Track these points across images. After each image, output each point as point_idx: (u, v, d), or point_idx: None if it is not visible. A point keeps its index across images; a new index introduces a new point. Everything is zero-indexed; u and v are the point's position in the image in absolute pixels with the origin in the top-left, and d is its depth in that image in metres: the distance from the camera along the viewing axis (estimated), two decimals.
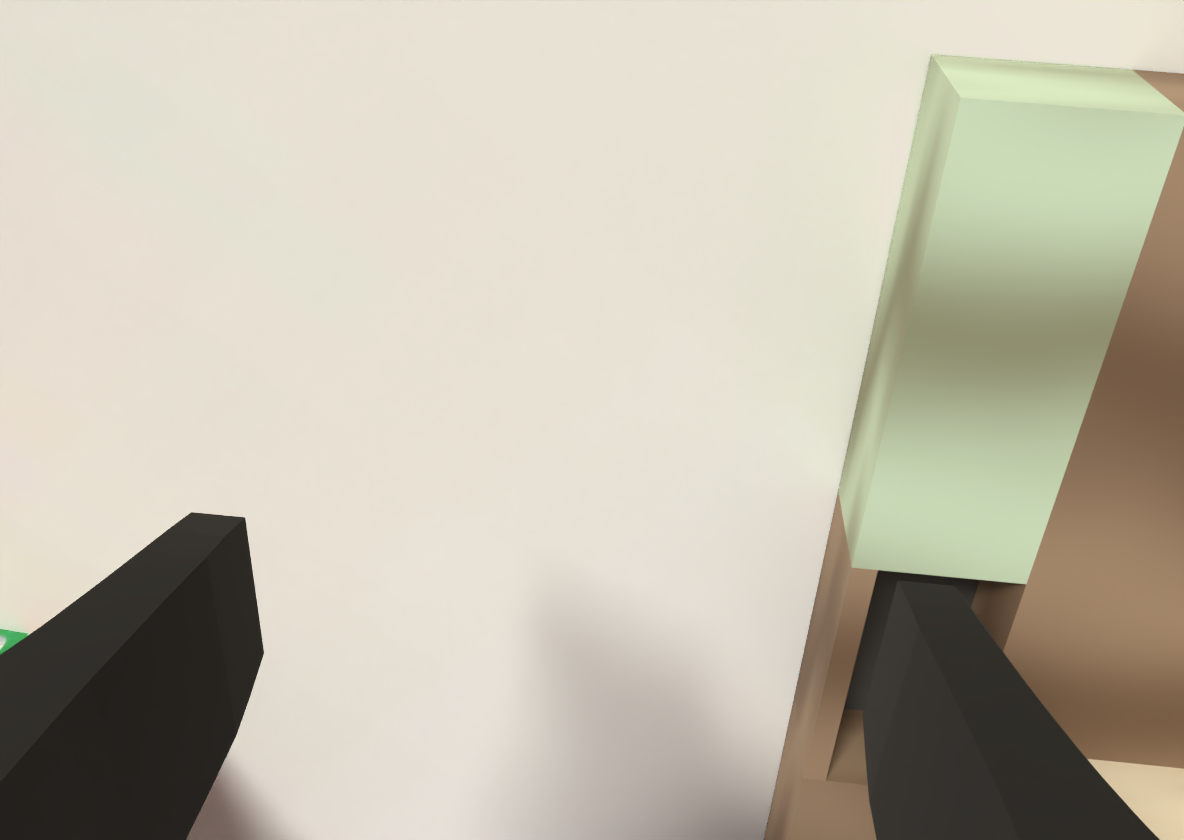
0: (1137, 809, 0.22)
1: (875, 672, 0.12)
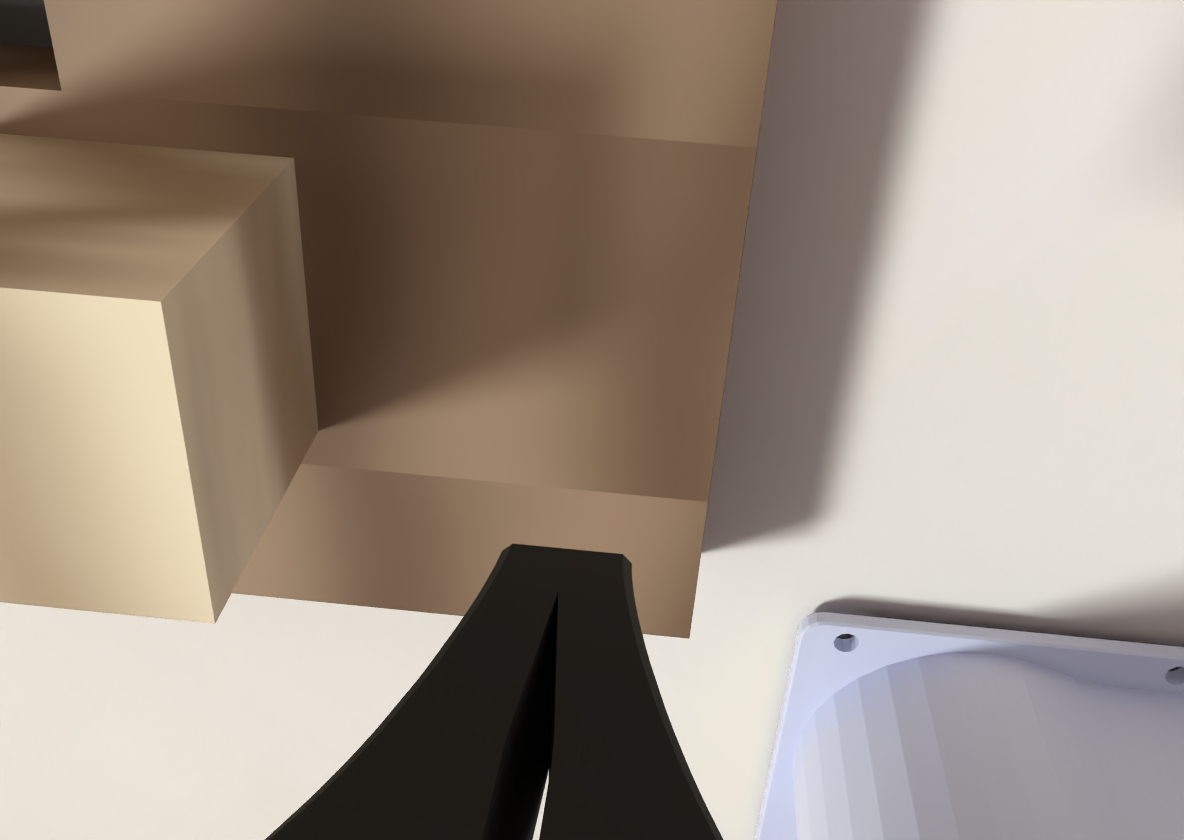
0: None
1: None
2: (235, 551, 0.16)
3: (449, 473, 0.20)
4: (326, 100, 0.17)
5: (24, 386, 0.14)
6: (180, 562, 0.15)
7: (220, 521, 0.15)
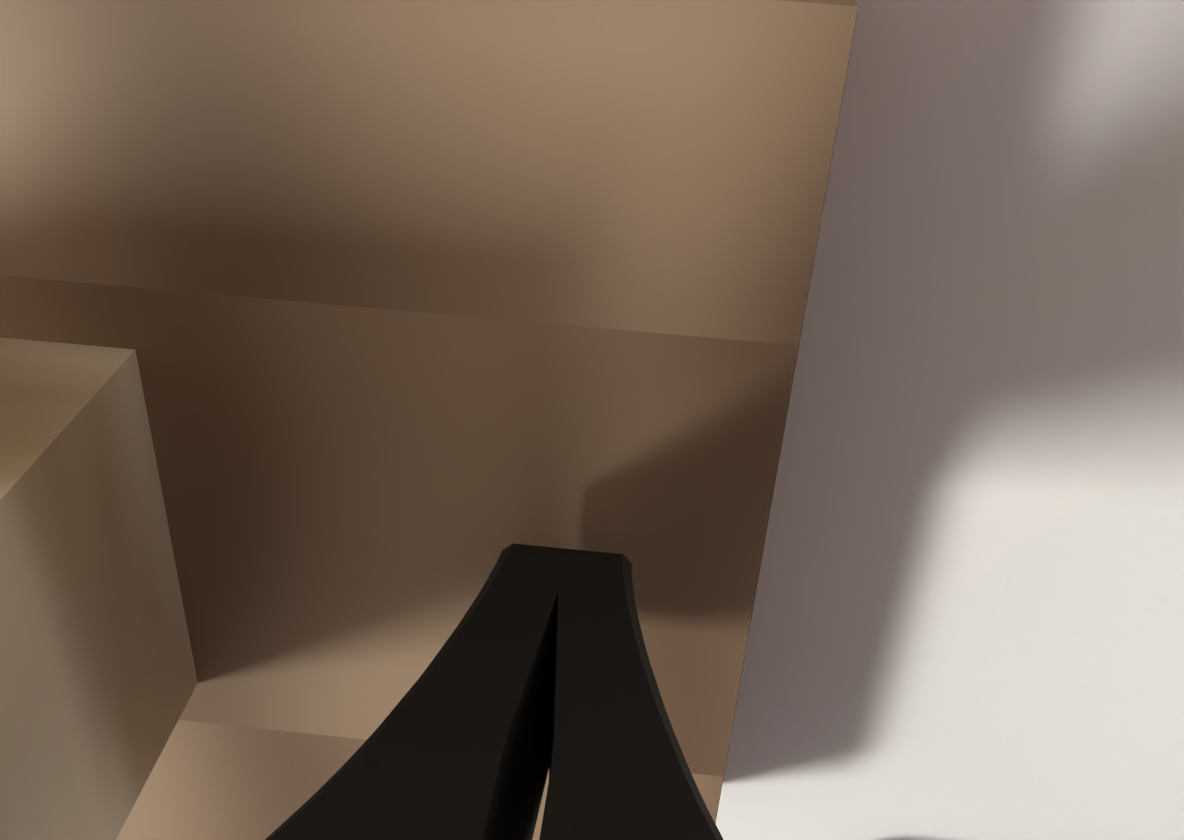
0: None
1: None
2: None
3: None
4: (175, 274, 0.11)
5: None
6: None
7: None
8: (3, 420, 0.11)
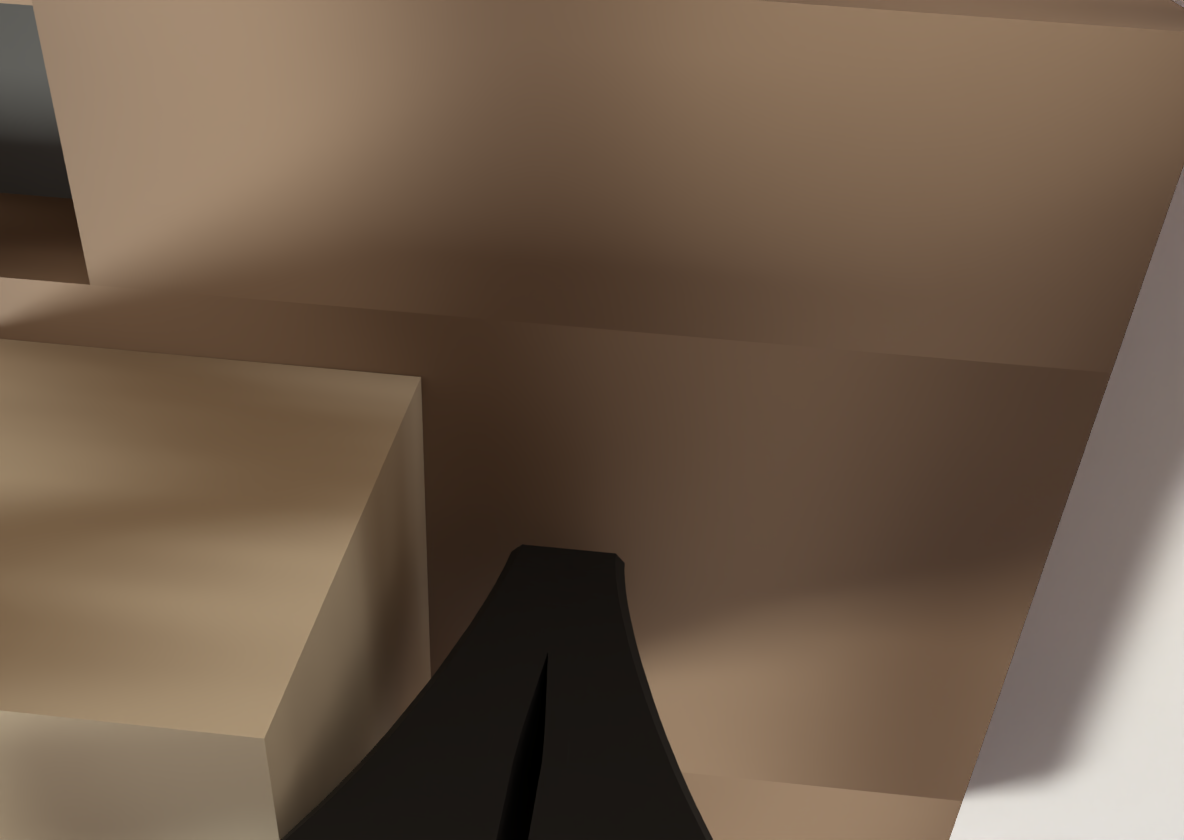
0: None
1: None
2: None
3: None
4: (477, 302, 0.11)
5: (35, 833, 0.08)
6: None
7: None
8: (322, 452, 0.11)
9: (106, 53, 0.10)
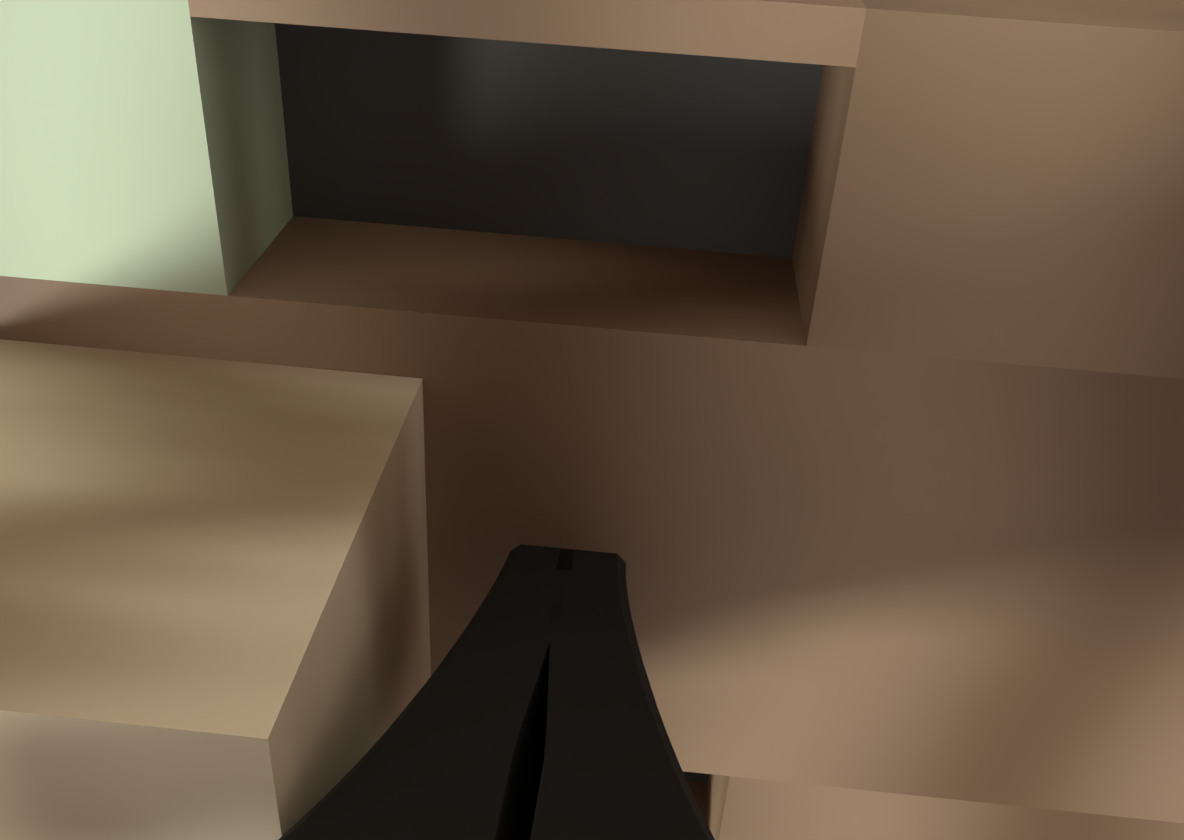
0: None
1: None
2: None
3: (1171, 814, 0.15)
4: None
5: (39, 833, 0.09)
6: None
7: None
8: (324, 453, 0.11)
9: (917, 115, 0.10)
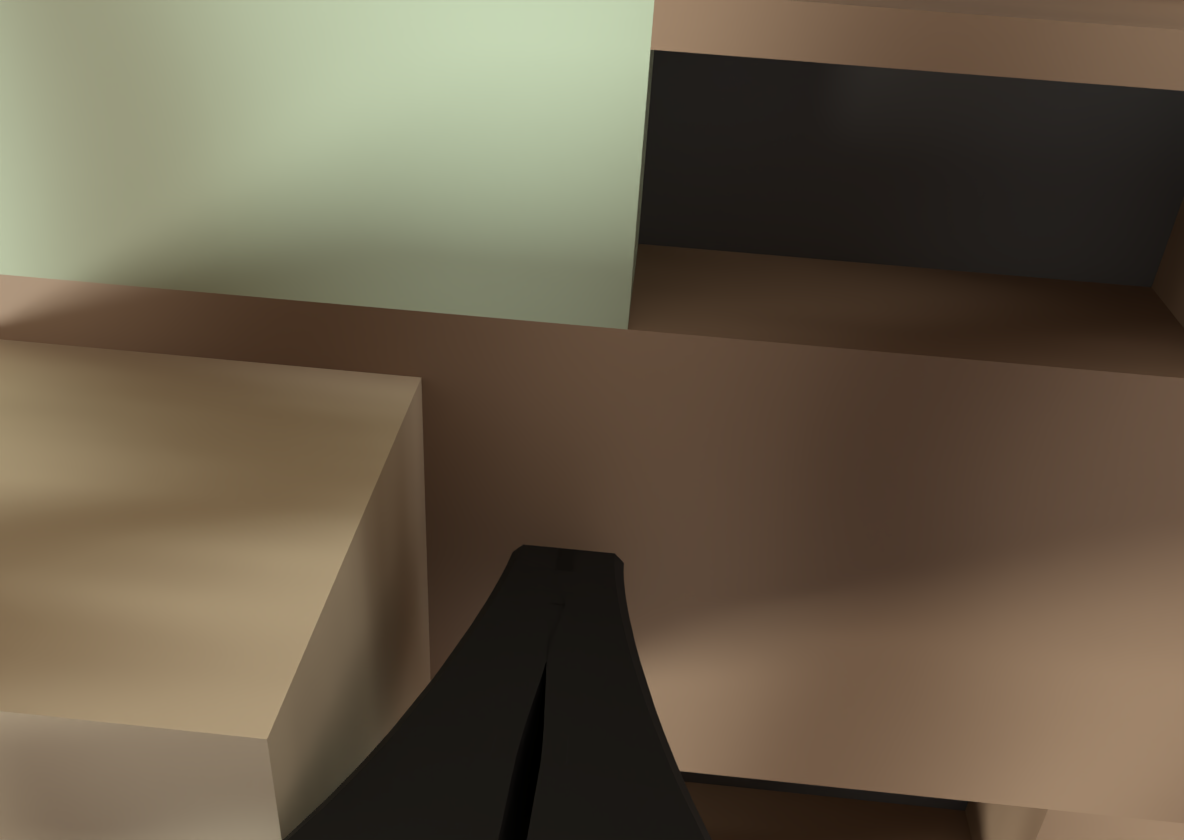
0: None
1: None
2: None
3: None
4: None
5: (36, 834, 0.08)
6: None
7: None
8: (323, 452, 0.11)
9: None
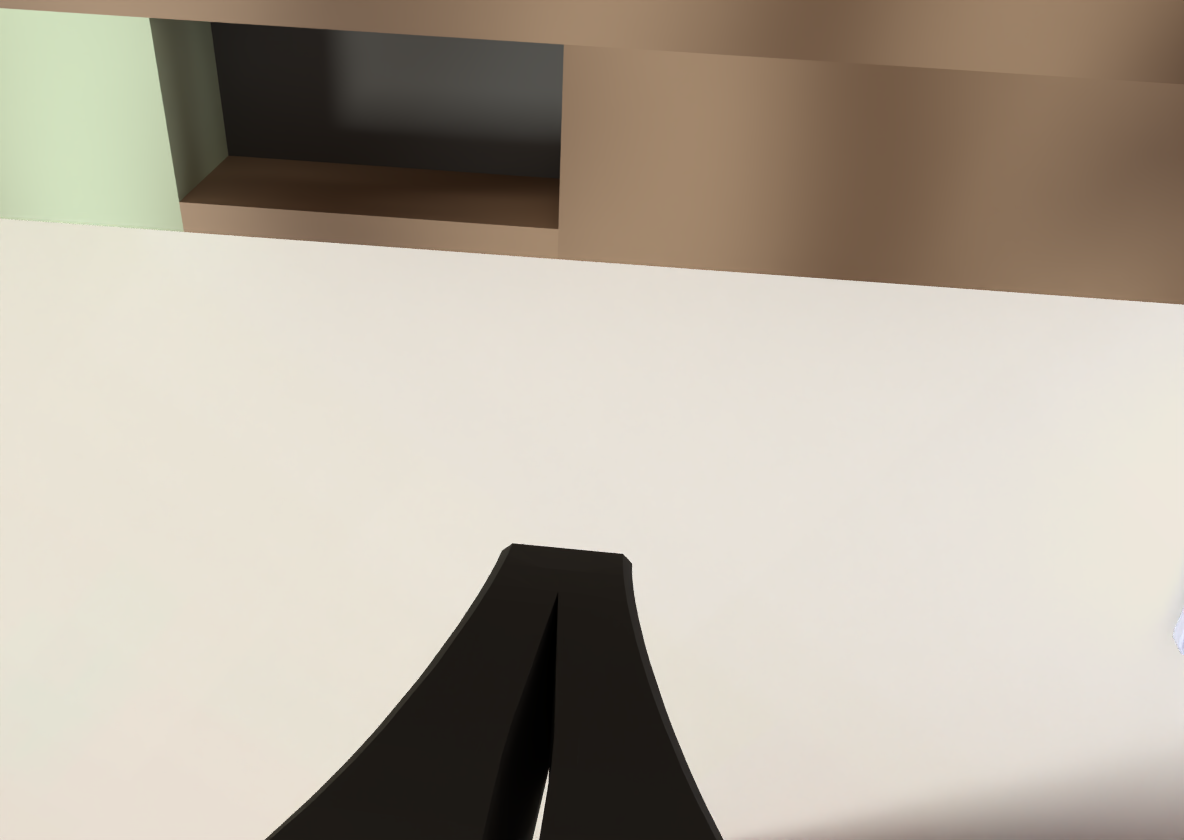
0: None
1: None
2: None
3: (976, 68, 0.16)
4: None
5: None
6: None
7: None
8: None
9: None
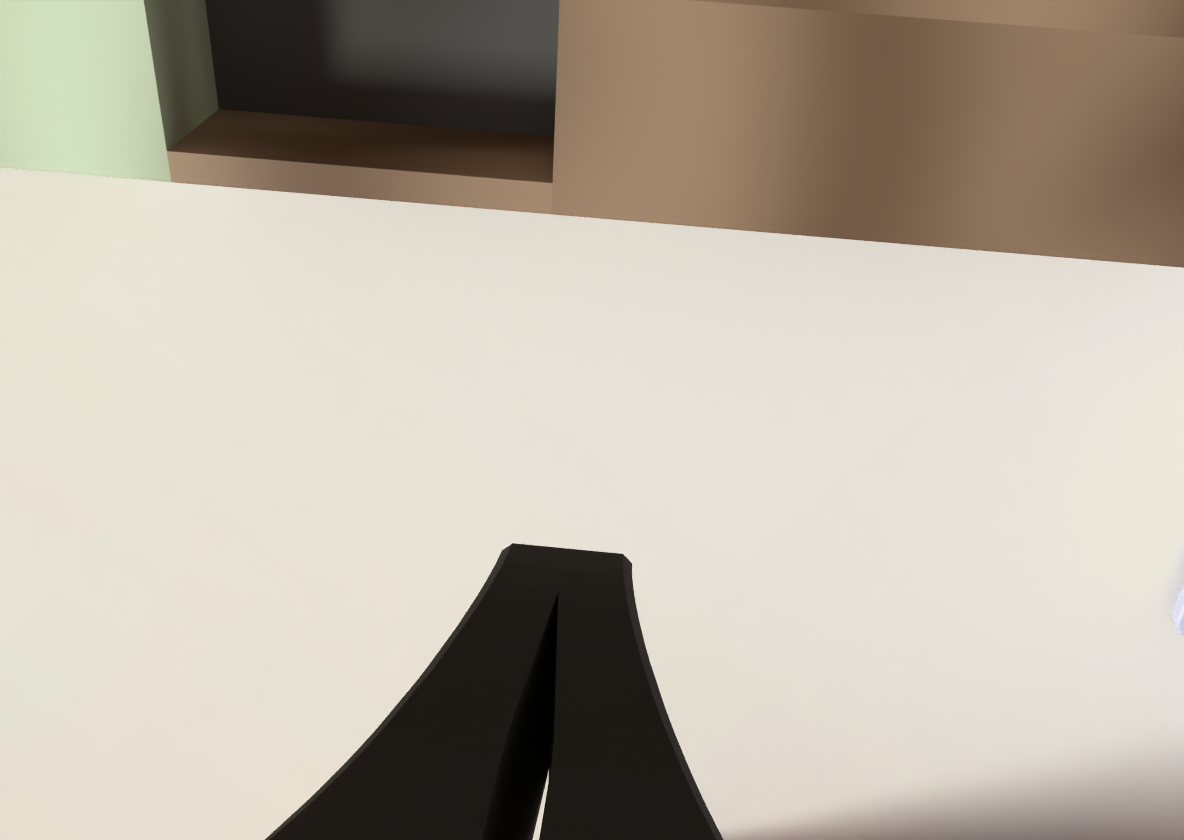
0: None
1: None
2: None
3: (979, 20, 0.15)
4: None
5: None
6: None
7: None
8: None
9: None
